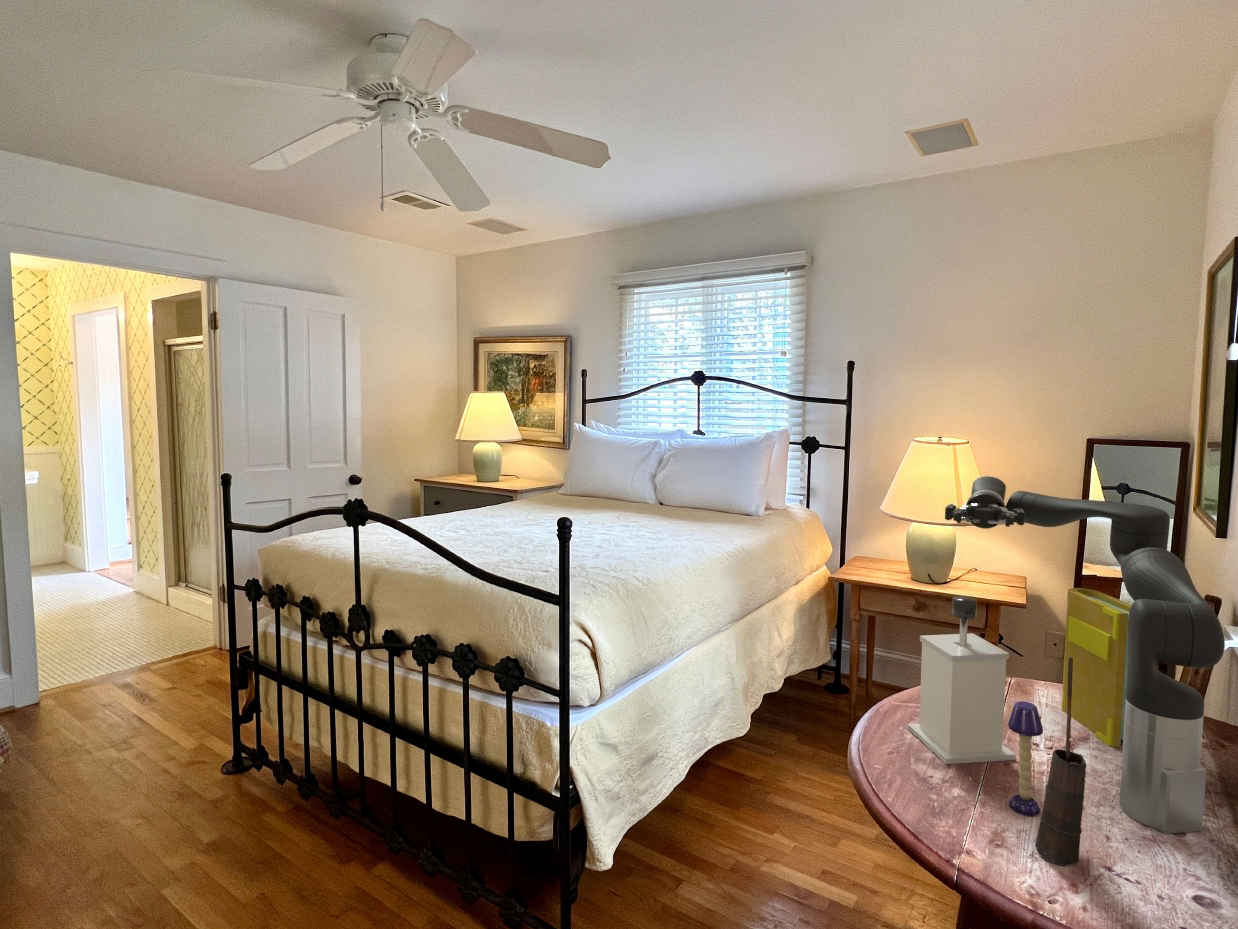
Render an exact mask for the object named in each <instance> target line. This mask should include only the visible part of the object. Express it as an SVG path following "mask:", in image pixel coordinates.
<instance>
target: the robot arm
mask: <svg viewBox="0 0 1238 929" xmlns="http://www.w3.org/2000/svg"><path fill="white" fill-rule="evenodd" d="M1006 491H1007V485H1006V483H1005V482H1004V481H1003V480H1001V479H1000V478H998V477H995V476H990V475H989V476H988V475H987V476H986V475H985V476H981V477H978V478H976V479H975V480H974V481H973V482H972V487H971V493H970V497H969V498H968V500H967V502H966V504H964V505H961V507H957V505H955V504H953V503H950V504H948V505H947V506H945V507H944V508H945V510H944V520H946V521H952V520H953V521H954V522H956V524H962V522H963V523H970V524H971V525H973V526H975V527H977V528H978V529H979V528H980V529H984V530H985V529H993V528H995V527H997V526H998V525H999V526H1004V525H1005V527H1008V528H1009V527H1011V526H1014V525H1015V523H1016V524H1017V525H1018V526H1024V525H1025V524H1029V525H1034V526H1038V527H1043V528H1056V527H1061V526H1066V525H1068V524H1069V525H1070V524H1071V523H1074V522H1078V521H1081V520H1085V519H1089V518H1105V519H1109V520H1111V522H1110V523H1111V524H1110V532H1109V534H1110V535H1109V547H1110V551H1111V554H1112V555H1113V557H1114V558H1115V560H1116V561H1117V562H1118V564H1119V565H1120V572H1121V577H1122V581H1123V584H1124V588H1125V590H1126V592H1127V593H1128V595H1129V597H1130V598H1131V599H1132V600H1133V602H1132V604H1131V607H1130V610H1129V617H1128V674H1127V690H1126V706H1125V720H1124V736H1123V740H1122V757H1121V769H1120V770H1121V771H1120V790H1119V791H1120V792H1119V802H1118V803H1119V807H1120V808H1121V810H1122V811H1123V812H1124V813H1125V814H1126V815H1127V816H1129V817H1131V818H1132V819H1134V820H1135V821H1137V822H1139V823H1141V824H1144V825H1146V826H1149V827H1151V828H1154V829H1157V830H1158V831H1160V832H1162V833H1164V834H1176V833H1191V832H1192V833H1193V832H1202V831H1203V825H1204V824H1203V822H1204V812H1205V811H1204V810H1205V795H1206V781H1207V770H1206V769H1205V768H1204V767H1203V766H1201V756H1202V742H1203V740H1202V739H1203V729H1204V728H1203V726H1204V714H1205V700H1204V697H1203V695H1202V693H1200V692H1199V690H1196V689H1195V688H1194V687H1192V686H1190V685H1188V684H1186V683H1184V682H1181V681H1179V680H1177V679H1175V678H1172V677H1170V676H1168V675H1166V674H1165V673H1163V672H1162V671H1160V670H1159V669H1157V667H1156V666H1155V665H1156V663H1158V664H1163V665H1165V664H1166V665H1172V666H1178V667H1179V666H1180V667H1187V668H1194V669H1195V668H1196V669H1197V668H1198V669H1206V668H1211V667H1214V666H1216V665H1217V664H1218V663H1219V662H1220V661H1221V660H1222V658H1223V656H1224V652H1225V649H1226V648H1225V647H1226V644H1225V634H1224V630H1223V627H1222V624H1221V622H1220V619H1219V618H1218V615H1217V613H1216V612H1215V610H1214V609H1213V608H1212V606H1211V605H1210V604H1209V603H1208V602H1207V601H1206V599H1204V597H1203V596H1202V595H1201V594H1200V593H1199V591H1198V590H1197V588H1196V587H1195V584H1194V582H1193V579H1192V578H1191V575H1190V573H1189V571H1188V569H1187V567H1186V565H1185V564H1184V562H1183V561H1182V560H1181V559H1180V558H1179V557H1178V556H1177V555H1175V553H1173V552H1172V551H1169V550H1168V544H1169V534H1170V525H1171V524H1170V523H1171V518H1170V514H1169V513H1168V512H1167V511H1166V510H1164V509H1161V508H1159V507H1155V506H1151V505H1145V504H1139V503H1129V502H1119V501H1118V502H1117V501H1106V500H1097V499H1096V500H1094V499H1093V500H1092V499H1080V498H1079V499H1078V498H1067V497H1059V496H1051V495H1046V494H1041V493H1037V492H1036V493H1035V492H1032V491H1026V490H1017V491H1014V492H1013V493H1012V494H1011V495H1010V497H1009V499H1008V500H1007V502H1006V504H1005V497H1006Z"/></svg>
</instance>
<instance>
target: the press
mask: <svg viewBox="0 0 1238 929" xmlns="http://www.w3.org/2000/svg"><path fill="white" fill-rule="evenodd" d="M959 638H960V633H952V634H951V633H950V634H929V635H928V634H925V635H919V641H920V642H921V660H920V661H921V662H920V663H921V667H920V669H921V670H920V694H919V696H920V697H919V720H918V721H919V723H907V730H908V729H909V730H910V731H911V732H912V733H913V734H912V733H911V732H910V731H909V730H908V731H909V732H910V733H911V734H912V735H913V736H915V737H916V736H917V737H918V738H919V739H918V738H917V737H916V738H917V739H918V740H919V741H920V740H921V741H922V742H923V743H924V744H925V745H924V744H923V743H922V742H921V741H920V742H921V743H922V744H923V745H924V746H926V748H928V750H930V752H932V753H933V752H934V753H935V754H936V755H937V756H936V755H935V754H934V753H933V754H934V755H935V756H936V757H937V758H939V759H940V760H941V761H942V763H944V764H945V765H953V764H966V763H967V764H968V763H970V764H971V763H985V762H986V763H988V762H1001V761H1002V762H1003V761H1015V760H1016V756H1017V754H1016V753H1015V752H1013V751H1012V750H1010V748H1008V747H1007V746H1005V745H1004V744H1003V743H1004V723H1005V722H1004V719H1005V697H1006V696H1005V694H1006V675H1007V660H1009V659H1010V653H1009V652H1007V651H1005V649H1002V648H1000V647H998V646H996V645H995V644H993V643H991V642H990V641H988V640H986V639H985V638H982V637H981V636H978V635H977V634H974V633H967V647H960V646H959Z"/></svg>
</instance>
